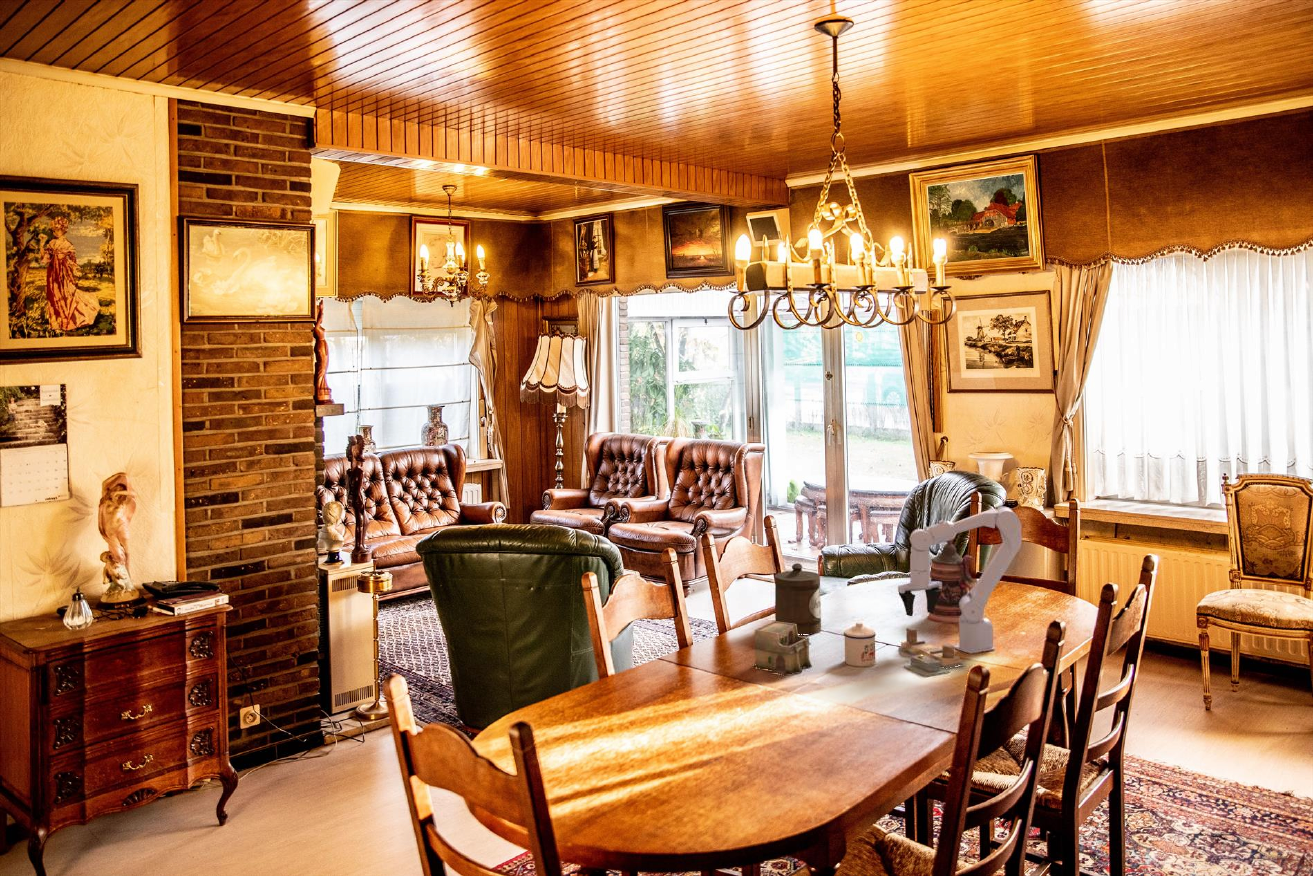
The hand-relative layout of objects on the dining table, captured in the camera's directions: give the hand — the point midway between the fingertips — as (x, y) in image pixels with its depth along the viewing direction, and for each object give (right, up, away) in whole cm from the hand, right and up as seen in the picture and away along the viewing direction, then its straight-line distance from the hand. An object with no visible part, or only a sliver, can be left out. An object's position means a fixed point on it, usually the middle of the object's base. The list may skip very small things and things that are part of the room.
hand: (920, 614), depth 297 cm
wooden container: (-33, -10, +26) cm, 43 cm away
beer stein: (+19, -8, +33) cm, 39 cm away
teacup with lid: (-19, -12, -11) cm, 25 cm away
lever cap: (-4, -12, -20) cm, 24 cm away
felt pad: (-4, -12, -20) cm, 24 cm away
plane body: (0, -11, -9) cm, 14 cm away
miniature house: (-44, -13, -13) cm, 47 cm away
